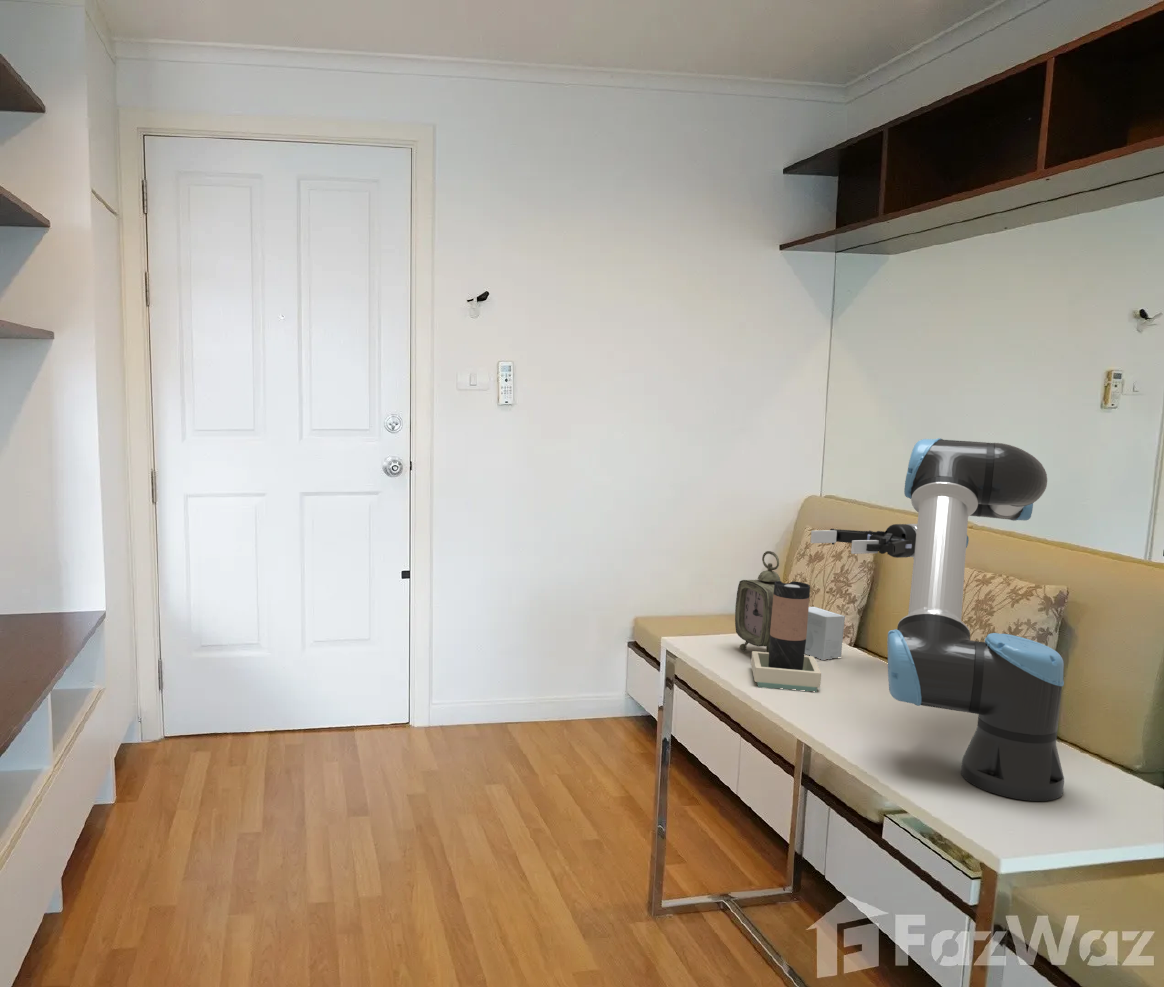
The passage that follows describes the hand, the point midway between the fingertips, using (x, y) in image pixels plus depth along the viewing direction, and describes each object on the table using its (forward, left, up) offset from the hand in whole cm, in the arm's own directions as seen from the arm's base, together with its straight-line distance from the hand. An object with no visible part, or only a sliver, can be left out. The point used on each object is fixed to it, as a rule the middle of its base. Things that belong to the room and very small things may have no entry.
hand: (831, 541), depth 204 cm
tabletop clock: (+13, +11, -30) cm, 35 cm away
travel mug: (-5, +8, -29) cm, 31 cm away
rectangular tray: (-3, +8, -30) cm, 31 cm away
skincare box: (+20, -2, -30) cm, 36 cm away
